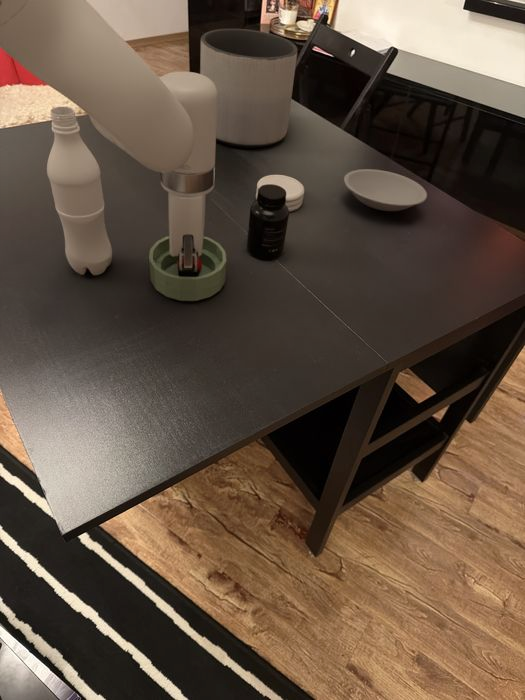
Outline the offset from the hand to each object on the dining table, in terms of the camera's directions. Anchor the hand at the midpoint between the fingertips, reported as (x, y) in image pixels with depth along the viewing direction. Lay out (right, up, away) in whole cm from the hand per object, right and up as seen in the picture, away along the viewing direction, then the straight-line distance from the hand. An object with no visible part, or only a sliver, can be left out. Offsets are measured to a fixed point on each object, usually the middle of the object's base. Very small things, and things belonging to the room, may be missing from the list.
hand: (188, 275), depth 80 cm
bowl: (0, -1, +1) cm, 1 cm away
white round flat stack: (+16, +19, +22) cm, 33 cm away
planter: (+7, +44, +44) cm, 63 cm away
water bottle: (-16, +1, 0) cm, 16 cm away
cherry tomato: (0, 0, 0) cm, 0 cm away
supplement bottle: (+13, +6, +9) cm, 17 cm away
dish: (+38, +19, +24) cm, 48 cm away
